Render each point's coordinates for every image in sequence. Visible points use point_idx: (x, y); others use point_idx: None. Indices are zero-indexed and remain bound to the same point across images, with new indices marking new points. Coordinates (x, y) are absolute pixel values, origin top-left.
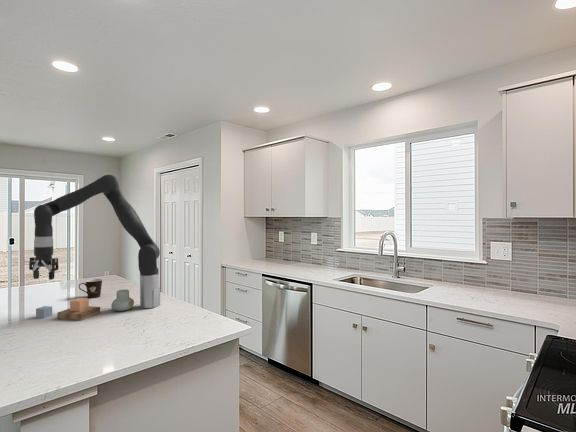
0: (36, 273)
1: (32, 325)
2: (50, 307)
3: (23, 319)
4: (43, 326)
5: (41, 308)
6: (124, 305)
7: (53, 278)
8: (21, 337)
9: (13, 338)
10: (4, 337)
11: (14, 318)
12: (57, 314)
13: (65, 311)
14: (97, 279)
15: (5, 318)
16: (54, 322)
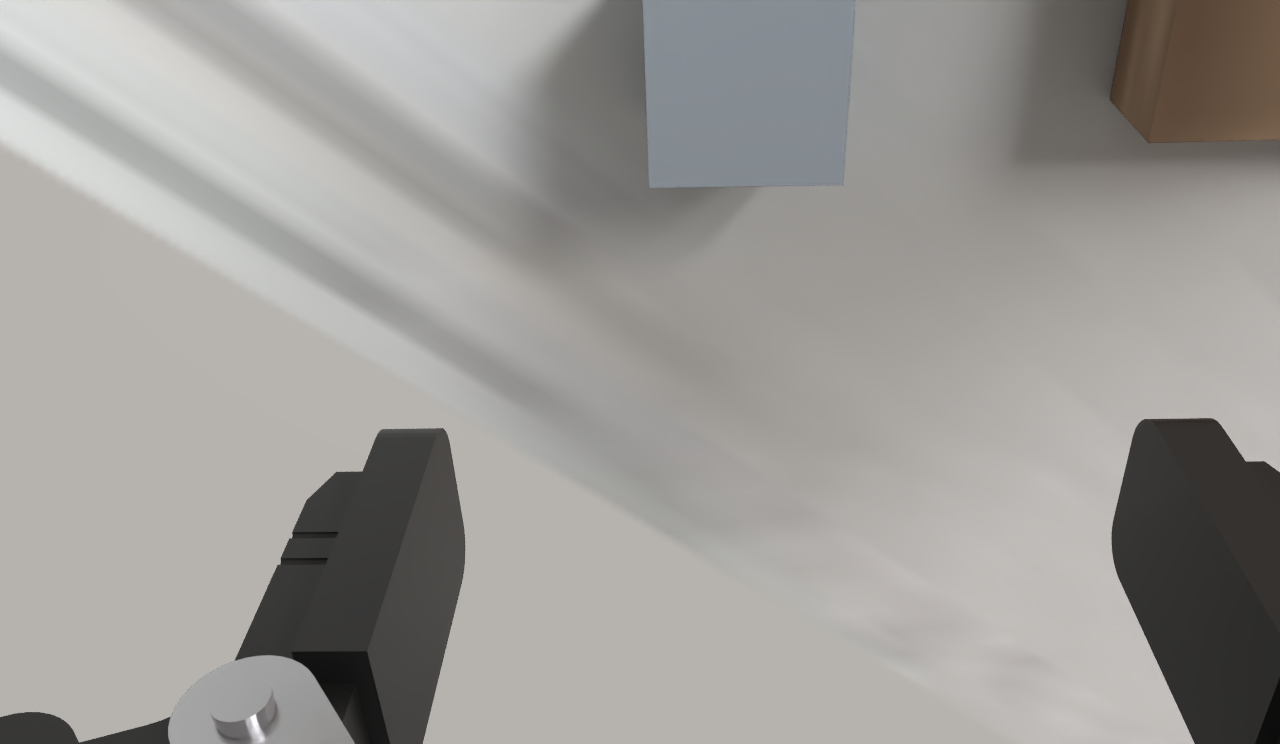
0: (419, 670)
1: (943, 405)
2: (852, 27)
3: (533, 228)
4: (1144, 409)
5: (748, 153)
6: None
7: (1211, 436)
8: (1160, 692)
9: (1093, 718)
10: (966, 713)
11: (332, 217)
12: (1138, 128)
13: (1271, 44)
14: None
15: (194, 244)
16: (1187, 249)
